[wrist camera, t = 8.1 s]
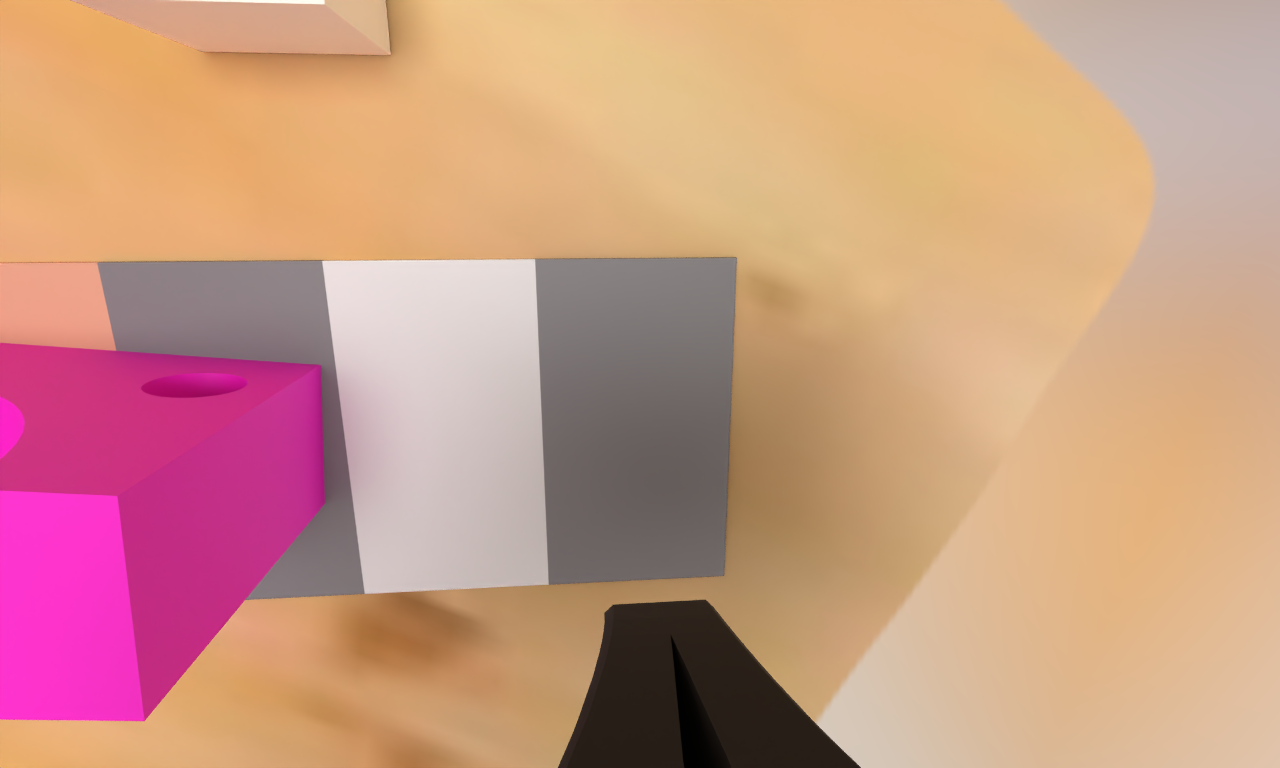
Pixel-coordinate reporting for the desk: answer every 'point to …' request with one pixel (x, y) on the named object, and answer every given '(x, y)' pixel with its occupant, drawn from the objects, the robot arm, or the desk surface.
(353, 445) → the board
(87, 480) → the toy block
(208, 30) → the die
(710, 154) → the desk surface
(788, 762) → the robot arm
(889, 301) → the desk surface
